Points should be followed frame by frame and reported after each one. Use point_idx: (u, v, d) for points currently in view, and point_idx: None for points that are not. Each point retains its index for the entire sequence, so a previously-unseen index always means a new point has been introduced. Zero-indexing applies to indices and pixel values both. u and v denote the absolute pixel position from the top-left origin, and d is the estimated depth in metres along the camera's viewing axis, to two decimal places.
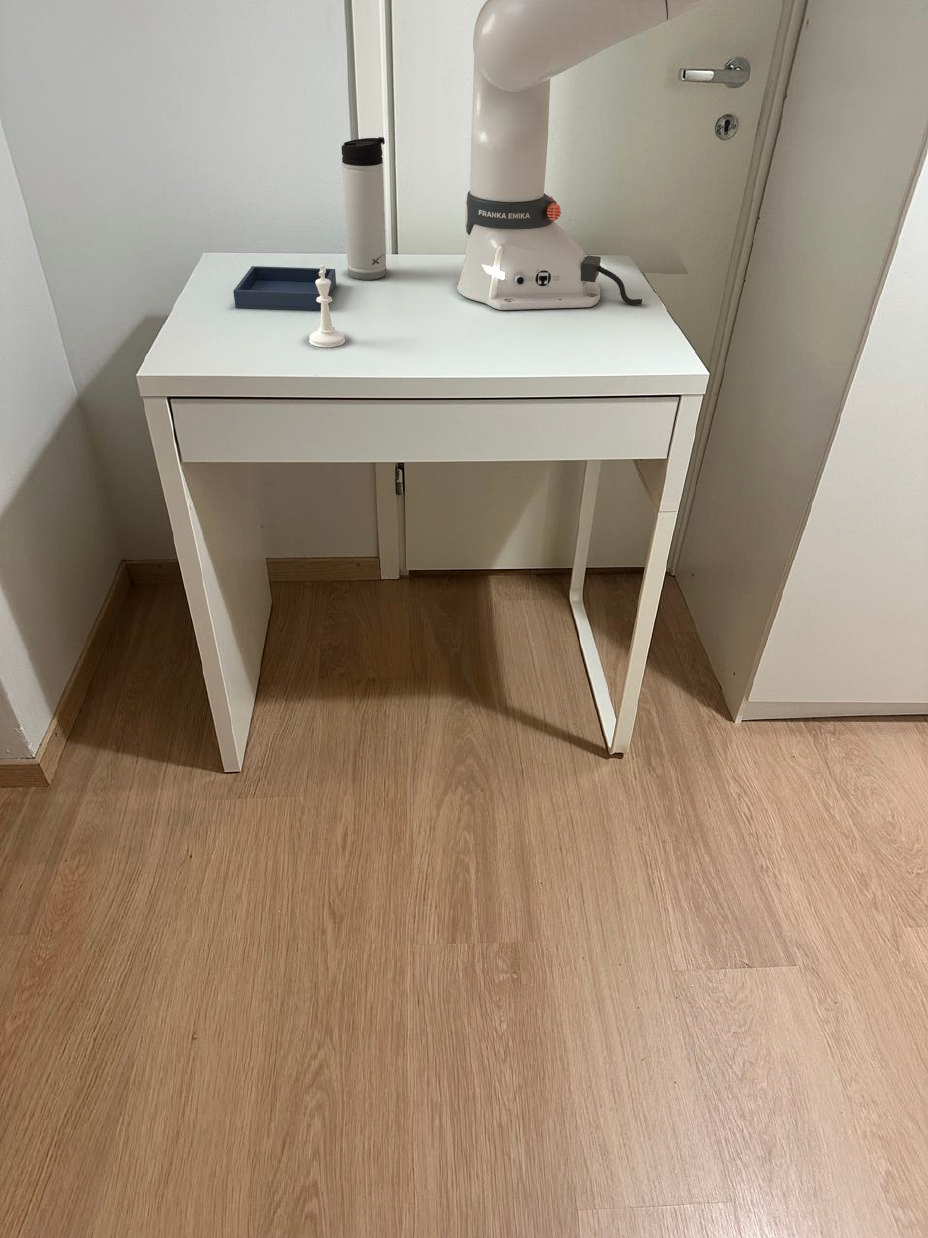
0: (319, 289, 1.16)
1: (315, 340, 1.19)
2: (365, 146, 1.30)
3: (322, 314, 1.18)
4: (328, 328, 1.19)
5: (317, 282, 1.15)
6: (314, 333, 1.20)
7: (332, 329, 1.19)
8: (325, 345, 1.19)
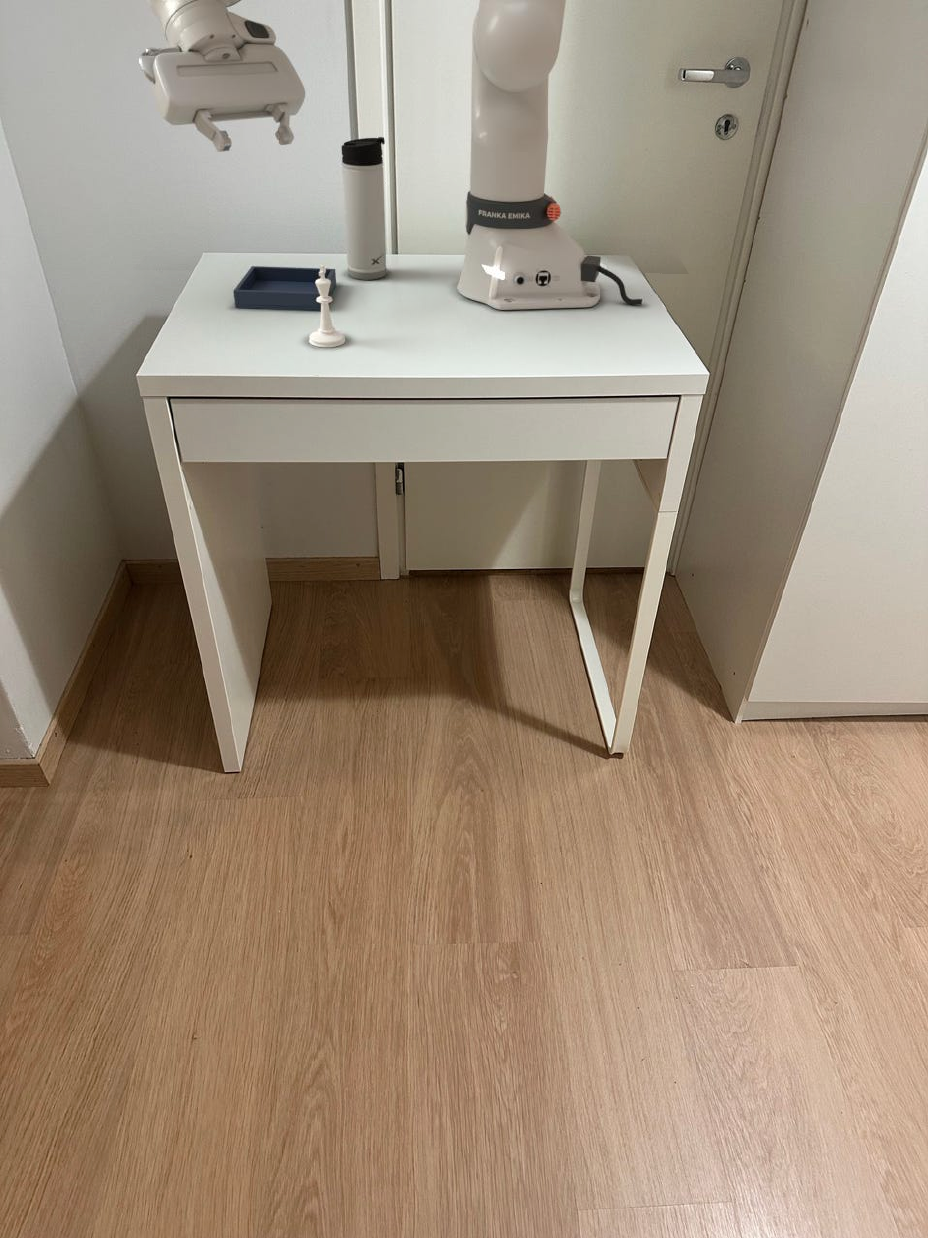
0: (319, 289, 1.16)
1: (315, 340, 1.19)
2: (365, 146, 1.30)
3: (322, 314, 1.18)
4: (328, 328, 1.19)
5: (317, 282, 1.15)
6: (314, 333, 1.20)
7: (332, 329, 1.19)
8: (325, 345, 1.19)
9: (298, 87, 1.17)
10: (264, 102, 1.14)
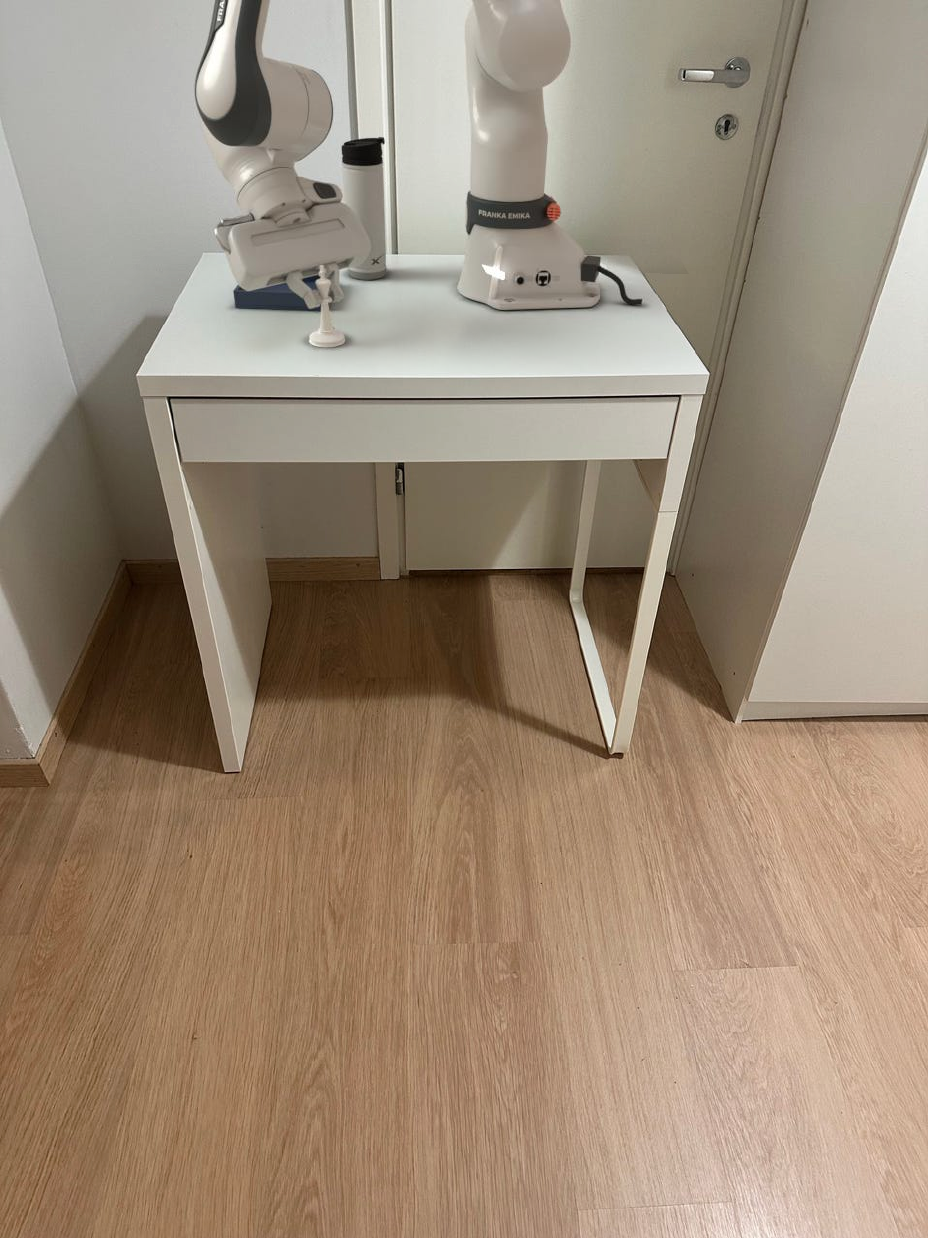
0: (319, 289, 1.16)
1: (315, 340, 1.19)
2: (365, 146, 1.30)
3: (322, 314, 1.18)
4: (328, 328, 1.19)
5: (317, 282, 1.15)
6: (314, 333, 1.20)
7: (332, 329, 1.19)
8: (325, 345, 1.19)
9: (364, 241, 1.20)
10: (333, 260, 1.17)
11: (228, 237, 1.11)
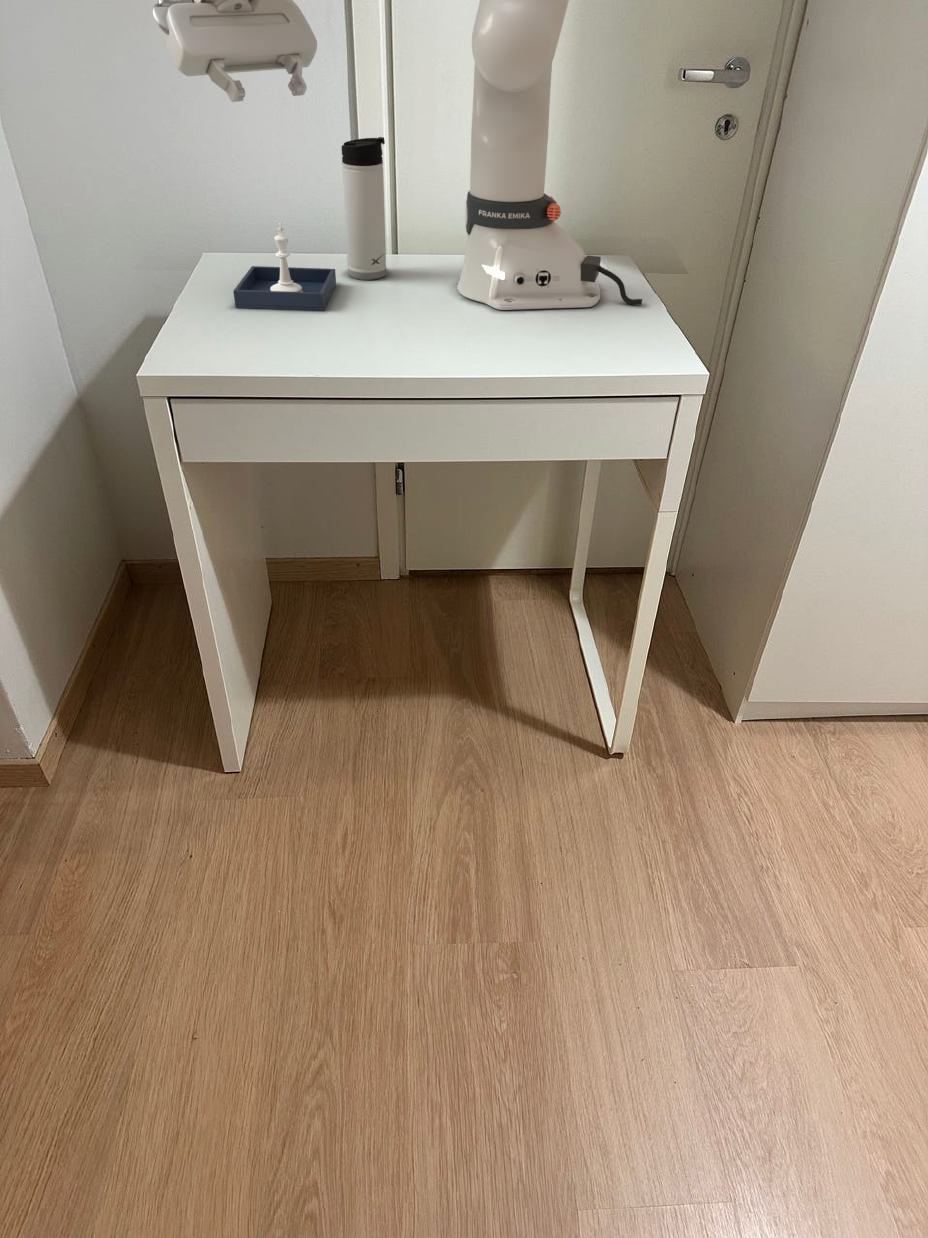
0: (278, 244, 1.30)
1: None
2: (365, 146, 1.30)
3: (281, 267, 1.32)
4: (287, 280, 1.33)
5: (276, 238, 1.29)
6: (274, 285, 1.34)
7: (290, 281, 1.33)
8: None
9: (310, 38, 1.18)
10: (277, 52, 1.15)
11: (166, 16, 1.09)
